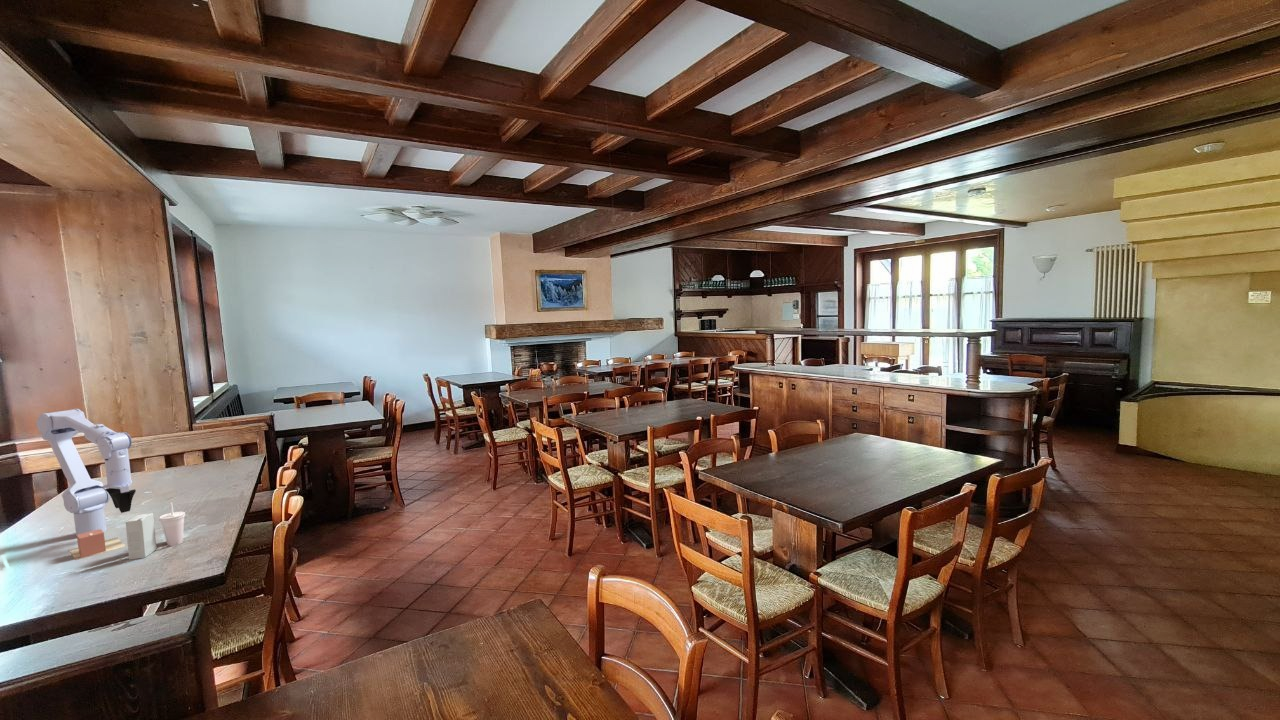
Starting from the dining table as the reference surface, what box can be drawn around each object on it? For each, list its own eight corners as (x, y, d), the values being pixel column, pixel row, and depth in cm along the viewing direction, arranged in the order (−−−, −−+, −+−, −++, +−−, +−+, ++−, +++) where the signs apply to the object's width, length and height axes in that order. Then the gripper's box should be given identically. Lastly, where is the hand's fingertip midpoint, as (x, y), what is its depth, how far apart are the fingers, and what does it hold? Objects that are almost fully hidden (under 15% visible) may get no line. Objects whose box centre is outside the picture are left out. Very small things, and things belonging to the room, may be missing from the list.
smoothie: (164, 549, 165) (159, 506, 164) (159, 545, 169) (155, 503, 167) (190, 542, 170) (186, 500, 169) (185, 537, 174) (181, 497, 173)
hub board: (68, 552, 165) (67, 540, 165) (117, 539, 174) (115, 528, 174) (76, 562, 158) (74, 550, 157) (126, 548, 166) (125, 537, 166)
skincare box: (140, 551, 164) (136, 514, 163) (158, 549, 165) (153, 512, 164) (128, 560, 158) (123, 521, 157) (146, 557, 159) (141, 519, 158)
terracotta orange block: (102, 547, 166) (100, 528, 166) (105, 551, 163) (103, 532, 163) (79, 553, 162) (76, 534, 162) (81, 557, 159) (79, 538, 159)
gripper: (96, 469, 174) (101, 509, 175) (105, 476, 166) (110, 517, 167) (125, 464, 180) (130, 502, 181) (136, 470, 171) (140, 510, 172)
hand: (122, 509), depth 174 cm, fingers open, 7 cm apart
